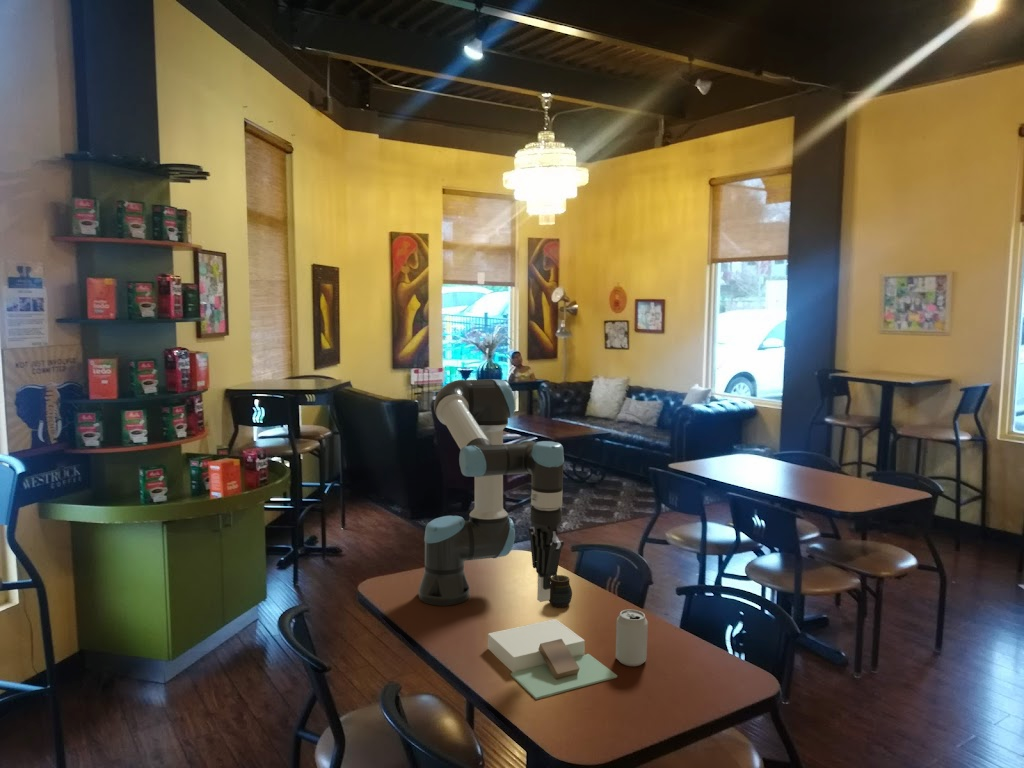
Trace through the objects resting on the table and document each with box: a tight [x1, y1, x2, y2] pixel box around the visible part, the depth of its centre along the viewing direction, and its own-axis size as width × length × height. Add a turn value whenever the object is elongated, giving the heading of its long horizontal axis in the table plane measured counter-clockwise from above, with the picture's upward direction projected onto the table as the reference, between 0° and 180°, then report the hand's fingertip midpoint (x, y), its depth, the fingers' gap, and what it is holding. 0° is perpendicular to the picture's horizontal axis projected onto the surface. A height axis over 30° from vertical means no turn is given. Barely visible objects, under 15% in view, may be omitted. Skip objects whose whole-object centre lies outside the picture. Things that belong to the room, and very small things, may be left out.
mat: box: [510, 653, 618, 701], centre depth 169 cm, size 12×22×1 cm, turn 118°
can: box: [615, 608, 649, 667], centre depth 177 cm, size 8×8×12 cm
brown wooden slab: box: [538, 639, 580, 680], centre depth 171 cm, size 9×6×2 cm, turn 28°
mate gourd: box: [548, 574, 573, 608], centre depth 211 cm, size 7×8×10 cm
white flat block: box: [487, 618, 586, 673], centre depth 181 cm, size 14×20×4 cm
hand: (543, 599), depth 176 cm, fingers closed
